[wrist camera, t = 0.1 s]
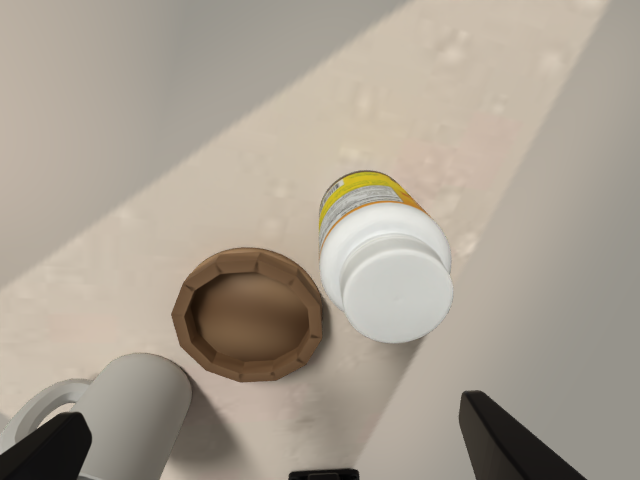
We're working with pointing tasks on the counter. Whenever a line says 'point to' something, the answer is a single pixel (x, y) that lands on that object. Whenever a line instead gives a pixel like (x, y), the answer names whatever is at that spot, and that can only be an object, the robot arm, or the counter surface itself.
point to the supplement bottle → (383, 258)
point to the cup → (117, 416)
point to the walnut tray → (249, 315)
